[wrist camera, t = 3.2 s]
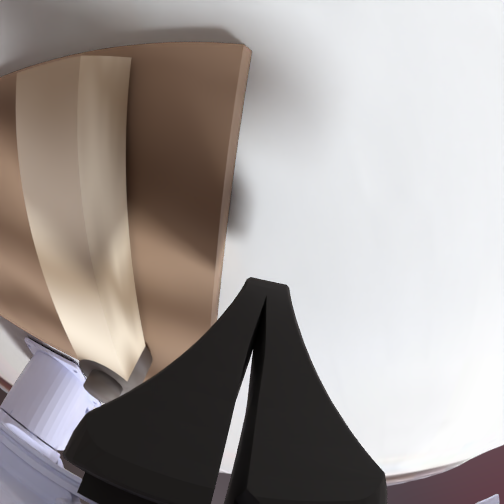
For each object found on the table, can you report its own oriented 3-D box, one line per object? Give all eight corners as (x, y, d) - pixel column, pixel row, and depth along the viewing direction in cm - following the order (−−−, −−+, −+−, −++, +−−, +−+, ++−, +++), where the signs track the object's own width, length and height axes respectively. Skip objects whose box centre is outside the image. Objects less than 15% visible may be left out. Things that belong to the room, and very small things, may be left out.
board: (211, 388, 19) (206, 405, 17) (6, 304, 20) (-2, 313, 19) (252, 51, 8) (243, 44, 7) (-41, 98, 9) (-55, 103, 8)
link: (155, 373, 16) (135, 420, 13) (106, 355, 16) (82, 397, 13) (139, 56, 7) (61, 53, 4) (62, 68, 7) (-12, 79, 4)
